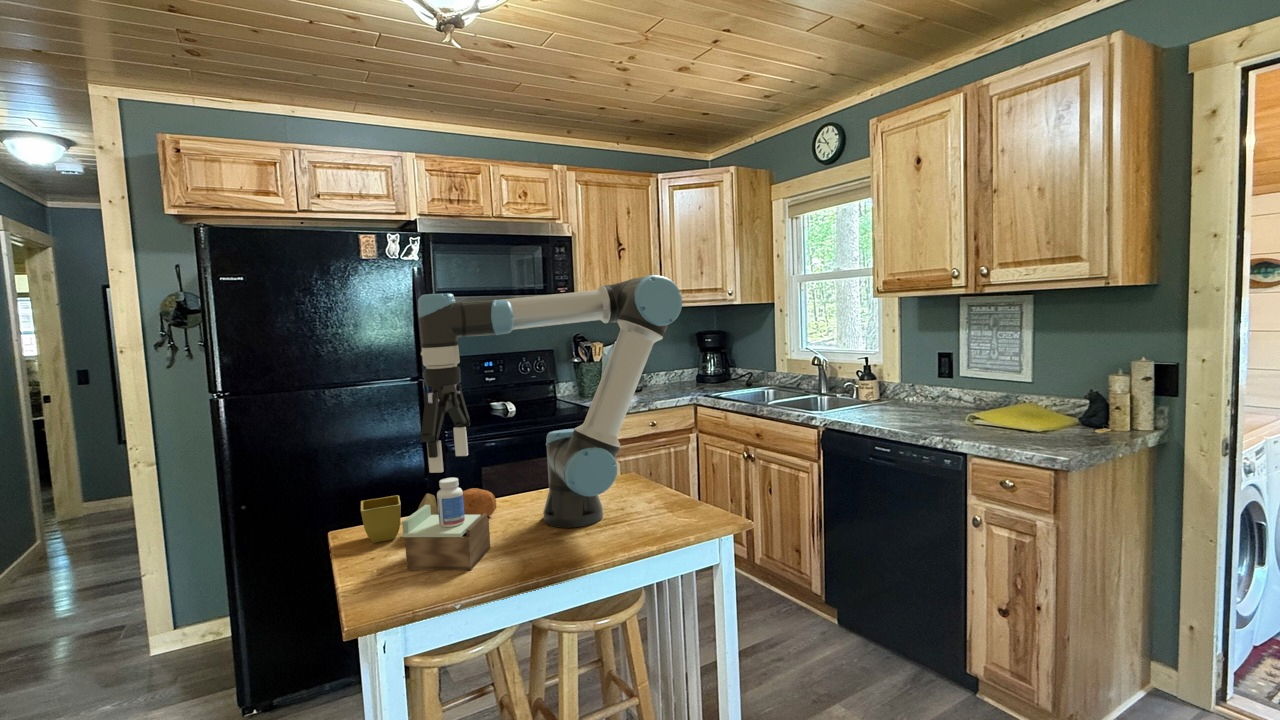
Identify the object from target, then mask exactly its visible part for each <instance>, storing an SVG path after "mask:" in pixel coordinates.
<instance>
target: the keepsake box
mask: <svg viewBox="0 0 1280 720" xmlns="http://www.w3.org/2000/svg"><path fill="white" fill-rule="evenodd" d="M490 533H491V532H490V519H489V517H488V516H487V513H484V514H482V515H481V516H480V517H479V518H478V519H477V520H476V521H475V522H474V523H473V524H472V525H471V526H470V527H469V528H468V529H467V530H466V533H465V534H464V535H463V536H462V537H404V541H405V542H404V543H405V544H404V545H405V555H406V556H405V557H406V558H405V559H406V567H407V568H406V570H407V571H472V570H473V569H474V568H475V566H476V565H477V564H478V563H479V562H480V561H481V560H482V559H483V557H484V556H485V555H486V554H487V553H488V552H489V550H490V549H491V534H490Z"/></svg>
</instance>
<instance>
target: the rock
mask: <svg viewBox="0 0 1280 720" xmlns="http://www.w3.org/2000/svg"><path fill="white" fill-rule="evenodd" d="M424 505H430V508H431V515H438V503H437V499H436V497H435V495H434V494H431V493H425V495H424V496H423V498H422V500H421V502H420V503H419V505H418V508H417V510H419V509H420V508H421V507H423V506H424Z"/></svg>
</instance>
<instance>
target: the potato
mask: <svg viewBox="0 0 1280 720" xmlns="http://www.w3.org/2000/svg"><path fill="white" fill-rule="evenodd" d="M462 491H463V503H464V515H482V514H484V513H487V517H490V516H492V515H493V514H494V512H495V511H496V509H497V499H496V497H495V495H494V493H492V492H491V491H489V490H486V489H481V488H478V487H476V488H474V487H473V488H468V489H466V490H462Z"/></svg>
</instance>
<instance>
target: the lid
mask: <svg viewBox="0 0 1280 720" xmlns="http://www.w3.org/2000/svg"><path fill="white" fill-rule="evenodd" d="M464 516H465V521H464V523H463V524H461V525H458V526H454V527H442V526H440V524H439V515H431V508H430V505H424V506H423V507H421V508H420V509H419V510H418V509H417V510H416V511H415V512H413V513H412V514H410V515H409V516H407V517H406V518H405V519H404V520H402V521H401V522H402V523H401V525H402V534H401V537H402V538H405V537H462V536H463V535H464V534H465V533H466V530H467V529H468V528H469V527H470V526H471V525H472V524H473V523H474V522H475V521H476V520H477V519H478V518H479V517H480V516H481V515H464Z"/></svg>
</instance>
